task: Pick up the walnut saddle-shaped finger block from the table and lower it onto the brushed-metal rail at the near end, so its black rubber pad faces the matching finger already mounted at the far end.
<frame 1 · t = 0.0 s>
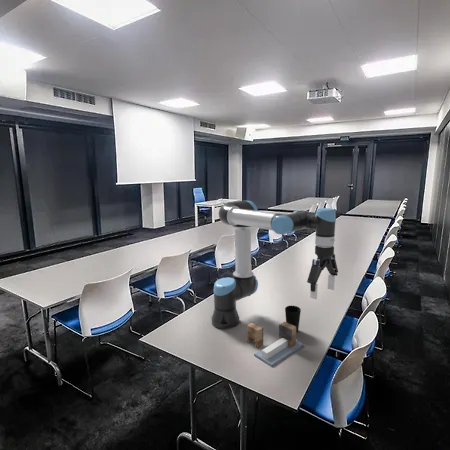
hand: (322, 293, 125), 28 cm above the table, fingers open, 13 cm apart
fixed finger: (287, 343, 136), resting on rail
rail: (279, 350, 133), on the table
cup: (292, 331, 149), on the table
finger: (255, 343, 138), on the table
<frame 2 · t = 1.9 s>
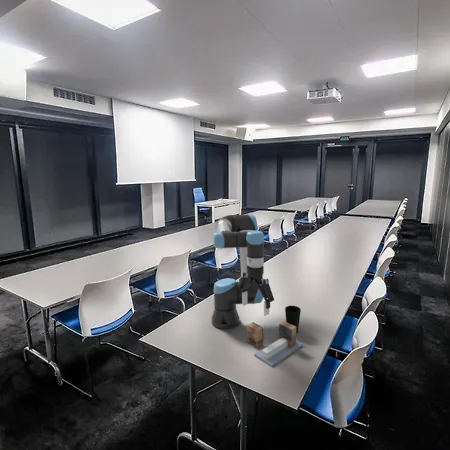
hand: (255, 309, 135), 17 cm above the table, fingers open, 13 cm apart
nothing on the table moved.
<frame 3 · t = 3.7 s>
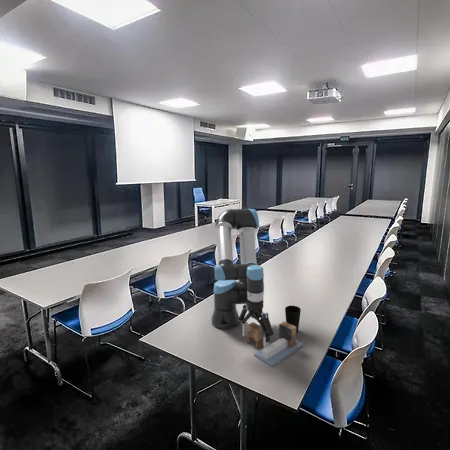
hand: (255, 341, 138), 1 cm above the table, fingers open, 13 cm apart
nothing on the table moved.
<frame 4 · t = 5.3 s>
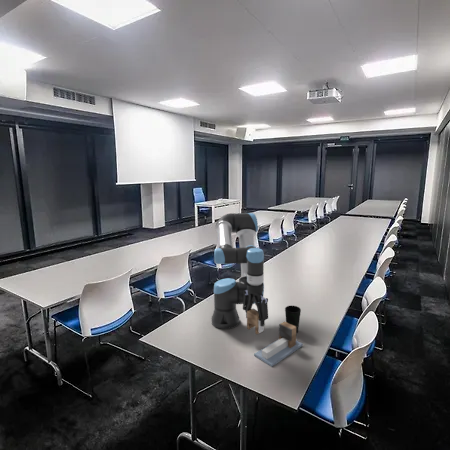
hand: (255, 328, 137), 8 cm above the table, fingers closed on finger, 7 cm apart
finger: (255, 329, 138), point 7 cm above the table, touching gripper
everything else where it was.
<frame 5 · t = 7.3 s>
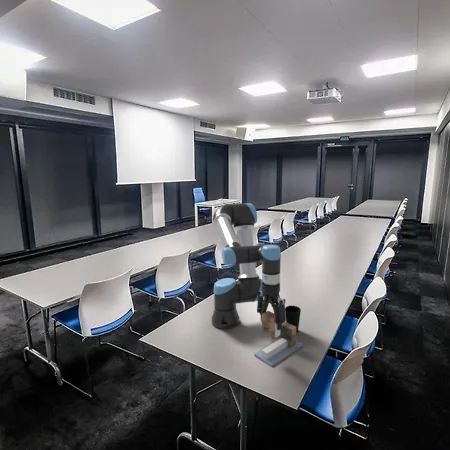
hand: (270, 332, 126), 12 cm above the table, fingers closed on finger, 7 cm apart
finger: (270, 334, 127), point 11 cm above the table, touching gripper
everything else where it was.
when the fingers open (2 cm above the table, at t = 9.6 s): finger stays where it is, resting on rail.
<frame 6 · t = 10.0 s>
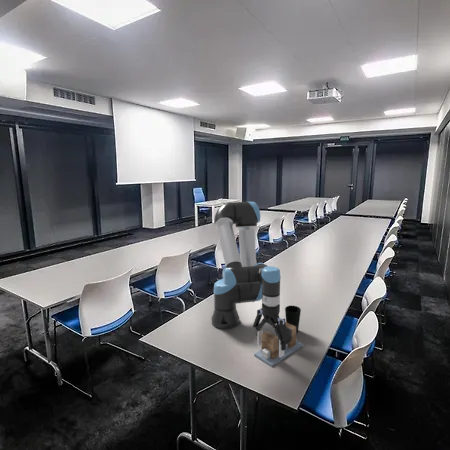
hand: (270, 349, 128), 3 cm above the table, fingers open, 11 cm apart
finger: (270, 354, 129), point 1 cm above the table, touching rail
everything else where it was.
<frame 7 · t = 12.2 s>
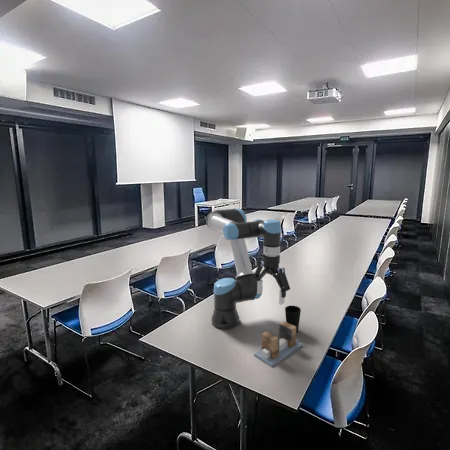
hand: (270, 298, 135), 22 cm above the table, fingers open, 13 cm apart
nothing on the table moved.
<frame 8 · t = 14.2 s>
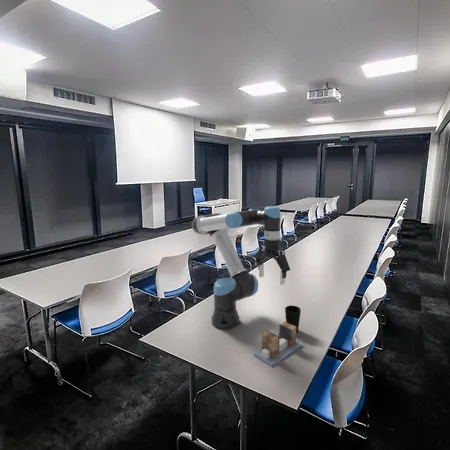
hand: (271, 280, 145), 27 cm above the table, fingers open, 13 cm apart
nothing on the table moved.
at the end: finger 0.5 cm from the target spot on the rail, point 1.0 cm above the rail's base; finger tilted 0°; the gripper is holding nothing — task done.
